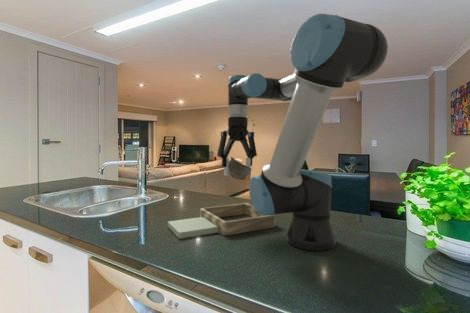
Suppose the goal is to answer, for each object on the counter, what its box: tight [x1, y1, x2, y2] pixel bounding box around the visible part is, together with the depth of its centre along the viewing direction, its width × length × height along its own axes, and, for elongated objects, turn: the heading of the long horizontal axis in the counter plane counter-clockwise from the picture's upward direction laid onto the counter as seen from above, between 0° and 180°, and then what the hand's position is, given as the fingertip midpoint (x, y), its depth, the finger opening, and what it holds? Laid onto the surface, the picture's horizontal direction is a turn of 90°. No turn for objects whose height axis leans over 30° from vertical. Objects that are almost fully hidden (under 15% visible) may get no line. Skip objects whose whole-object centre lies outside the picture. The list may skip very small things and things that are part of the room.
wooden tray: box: [199, 202, 277, 236], centre depth 108 cm, size 22×22×4 cm
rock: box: [228, 156, 253, 181], centre depth 105 cm, size 11×6×10 cm
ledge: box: [167, 216, 219, 240], centre depth 99 cm, size 14×14×2 cm
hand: (237, 174), depth 107 cm, fingers closed on rock, 9 cm apart
